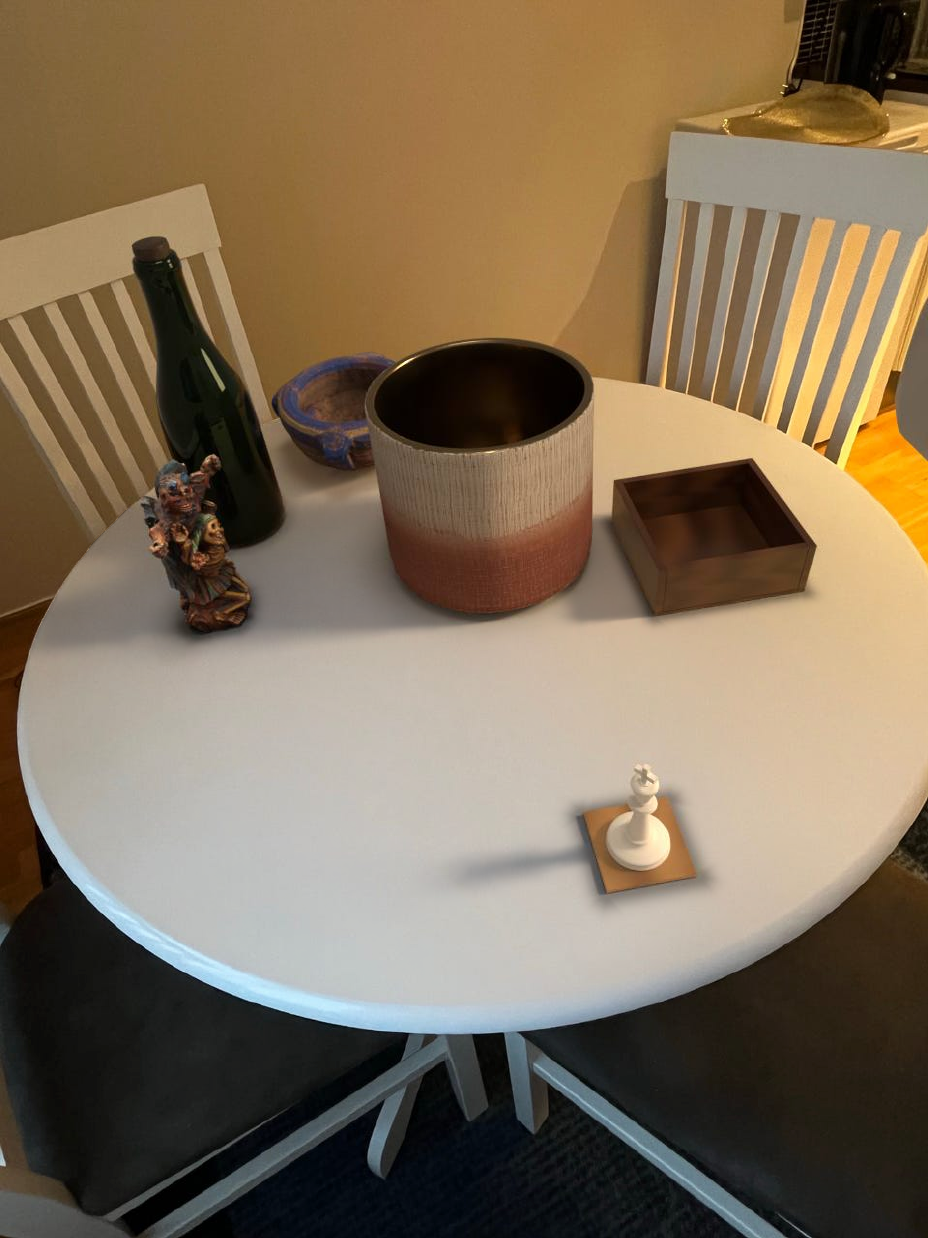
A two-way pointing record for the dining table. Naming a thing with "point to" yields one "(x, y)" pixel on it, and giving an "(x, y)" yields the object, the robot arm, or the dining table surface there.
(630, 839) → the chess piece
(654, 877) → the coaster
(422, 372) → the planter
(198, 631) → the figurine
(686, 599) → the crate
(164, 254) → the green wine bottle
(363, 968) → the dining table surface
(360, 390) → the bowl
